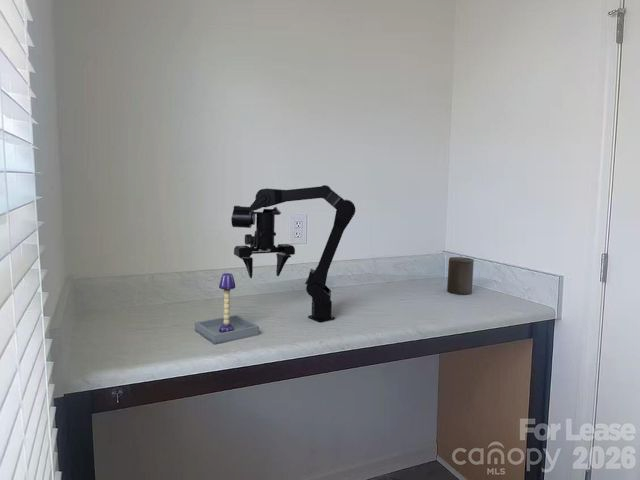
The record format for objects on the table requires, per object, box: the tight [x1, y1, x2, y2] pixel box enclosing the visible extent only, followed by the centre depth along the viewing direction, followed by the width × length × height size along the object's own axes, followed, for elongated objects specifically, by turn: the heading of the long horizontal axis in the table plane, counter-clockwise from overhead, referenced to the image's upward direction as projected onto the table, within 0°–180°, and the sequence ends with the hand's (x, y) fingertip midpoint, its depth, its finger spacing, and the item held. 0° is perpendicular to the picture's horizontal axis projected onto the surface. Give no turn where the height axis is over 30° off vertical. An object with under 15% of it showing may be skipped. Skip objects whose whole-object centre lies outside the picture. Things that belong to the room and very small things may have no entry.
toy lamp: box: [218, 272, 236, 333], centre depth 131 cm, size 5×5×17 cm
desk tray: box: [194, 314, 260, 346], centre depth 132 cm, size 14×14×2 cm
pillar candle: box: [446, 256, 475, 296], centre depth 185 cm, size 10×10×15 cm
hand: (264, 277), depth 146 cm, fingers open, 9 cm apart
